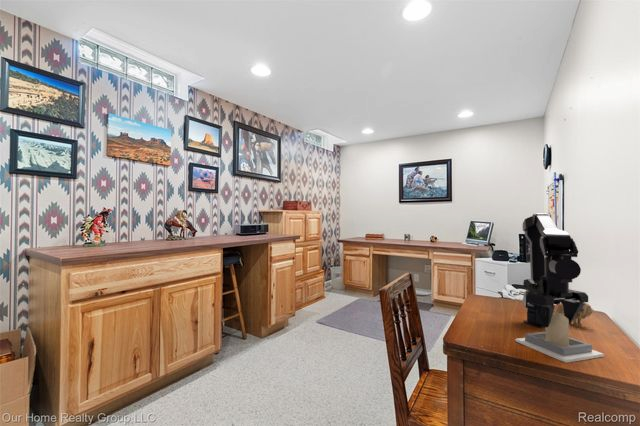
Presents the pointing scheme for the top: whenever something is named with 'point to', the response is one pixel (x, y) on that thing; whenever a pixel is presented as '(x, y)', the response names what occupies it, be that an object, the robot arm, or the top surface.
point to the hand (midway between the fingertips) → (557, 325)
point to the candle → (558, 330)
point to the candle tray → (560, 348)
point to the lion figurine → (583, 313)
